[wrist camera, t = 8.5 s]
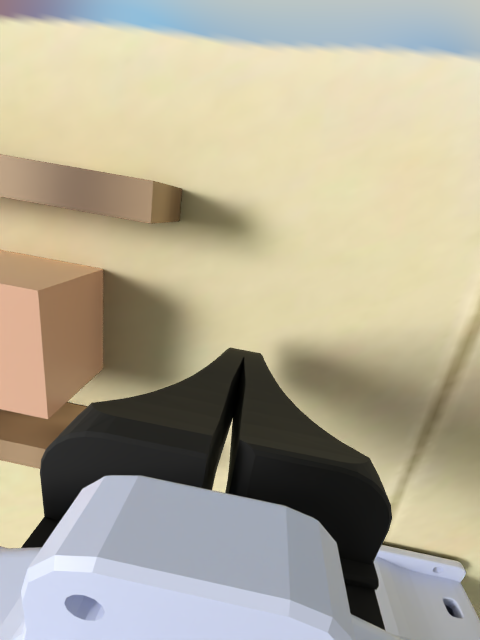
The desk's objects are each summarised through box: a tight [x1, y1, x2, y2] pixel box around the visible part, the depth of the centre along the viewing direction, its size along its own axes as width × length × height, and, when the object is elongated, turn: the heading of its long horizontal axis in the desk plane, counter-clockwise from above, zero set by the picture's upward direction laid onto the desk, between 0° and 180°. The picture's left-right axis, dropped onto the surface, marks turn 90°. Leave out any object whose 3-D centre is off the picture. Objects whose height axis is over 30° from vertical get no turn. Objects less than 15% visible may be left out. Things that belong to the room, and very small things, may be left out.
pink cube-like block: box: [0, 250, 103, 419], centre depth 12 cm, size 5×5×4 cm
